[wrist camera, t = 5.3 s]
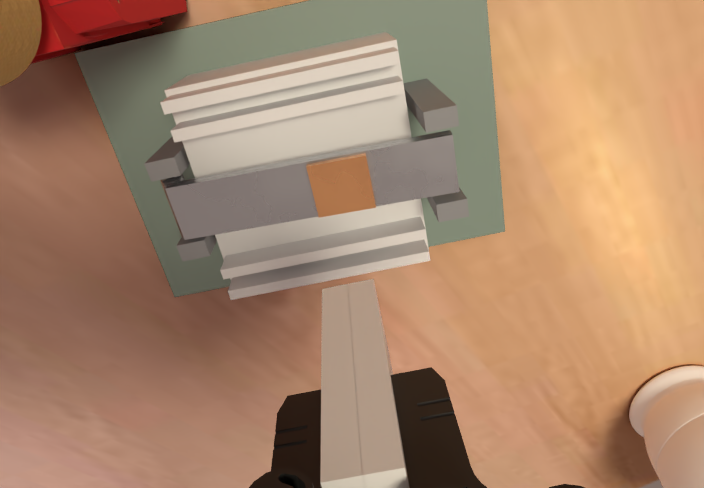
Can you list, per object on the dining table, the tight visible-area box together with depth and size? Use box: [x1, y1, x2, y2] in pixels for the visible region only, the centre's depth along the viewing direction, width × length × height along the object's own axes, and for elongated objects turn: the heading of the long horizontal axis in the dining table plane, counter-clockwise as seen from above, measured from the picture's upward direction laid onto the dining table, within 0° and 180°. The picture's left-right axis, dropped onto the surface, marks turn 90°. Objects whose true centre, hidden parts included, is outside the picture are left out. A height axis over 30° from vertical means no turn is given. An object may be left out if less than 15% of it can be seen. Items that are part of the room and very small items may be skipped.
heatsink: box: [74, 0, 505, 300], centre depth 31 cm, size 24×17×9 cm
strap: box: [160, 130, 459, 240], centre depth 28 cm, size 15×3×2 cm, turn 101°
